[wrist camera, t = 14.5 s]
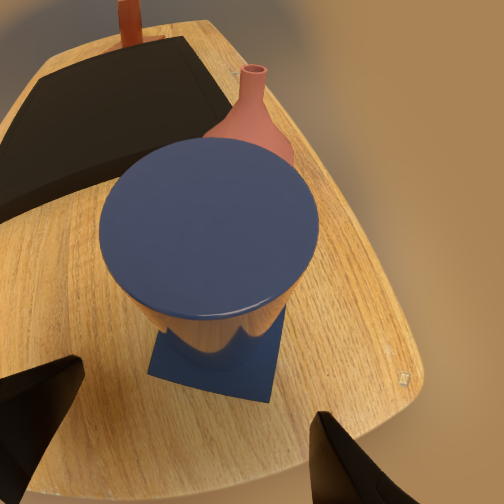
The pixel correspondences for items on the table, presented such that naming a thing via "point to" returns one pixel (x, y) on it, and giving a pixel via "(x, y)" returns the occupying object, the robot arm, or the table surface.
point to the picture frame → (104, 120)
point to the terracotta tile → (145, 39)
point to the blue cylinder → (210, 243)
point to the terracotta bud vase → (253, 117)
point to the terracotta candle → (130, 22)
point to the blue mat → (226, 383)
